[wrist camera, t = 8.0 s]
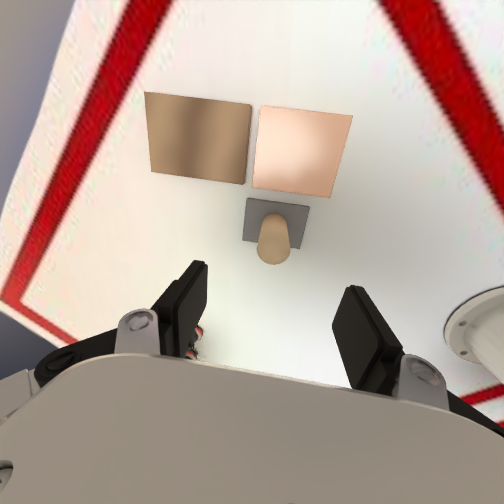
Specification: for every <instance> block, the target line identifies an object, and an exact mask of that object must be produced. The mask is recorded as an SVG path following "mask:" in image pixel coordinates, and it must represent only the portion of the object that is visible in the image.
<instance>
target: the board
mask: <svg viewBox="0 0 504 504" xmlns="http://www.w3.org/2000/svg"><path fill="white" fill-rule="evenodd" d="M144 96H145V107H146V118H147V129H148V140H149V151H150V162H151V172H156V173H163V174H170V175H177V176H184V177H191V178H199V179H206V180H213V181H220V182H227V183H234V184H241V185H243V184H244V183H245V173H246V162H247V152H248V142H249V132H250V122H251V112H252V107H251V105H250V104H242V103H234V102H226V101H217V100H209V99H201V98H193V97H184V96H176V95H168V94H160V93H151V92H144Z"/></svg>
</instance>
